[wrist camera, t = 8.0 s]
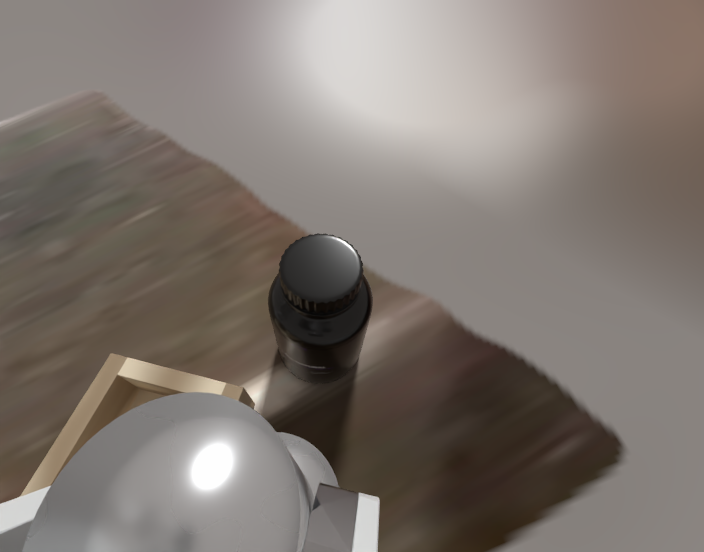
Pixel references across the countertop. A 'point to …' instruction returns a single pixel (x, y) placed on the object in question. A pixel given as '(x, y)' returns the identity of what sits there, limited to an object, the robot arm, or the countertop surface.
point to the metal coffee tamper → (183, 483)
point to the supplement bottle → (320, 307)
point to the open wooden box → (121, 406)
